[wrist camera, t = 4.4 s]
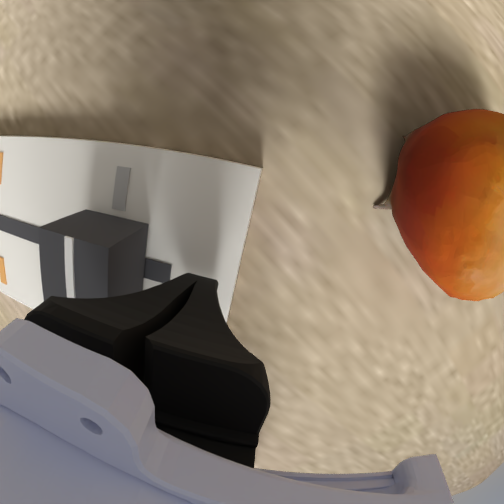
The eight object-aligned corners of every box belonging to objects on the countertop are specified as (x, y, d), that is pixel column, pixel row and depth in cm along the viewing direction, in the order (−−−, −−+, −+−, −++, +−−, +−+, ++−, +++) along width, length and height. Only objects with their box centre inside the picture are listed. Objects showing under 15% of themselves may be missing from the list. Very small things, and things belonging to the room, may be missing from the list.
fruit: (359, 70, 10) (546, 83, 3) (439, 129, 14) (555, 161, 7) (319, 248, 12) (480, 352, 6) (409, 251, 16) (514, 310, 10)
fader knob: (148, 224, 12) (107, 248, 9) (141, 310, 14) (109, 352, 10) (86, 209, 12) (37, 227, 9) (85, 291, 14) (46, 324, 10)
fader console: (262, 168, 13) (261, 169, 11) (218, 359, 16) (214, 376, 15) (-21, 135, 13) (-36, 137, 11) (-20, 266, 16) (-32, 272, 15)
